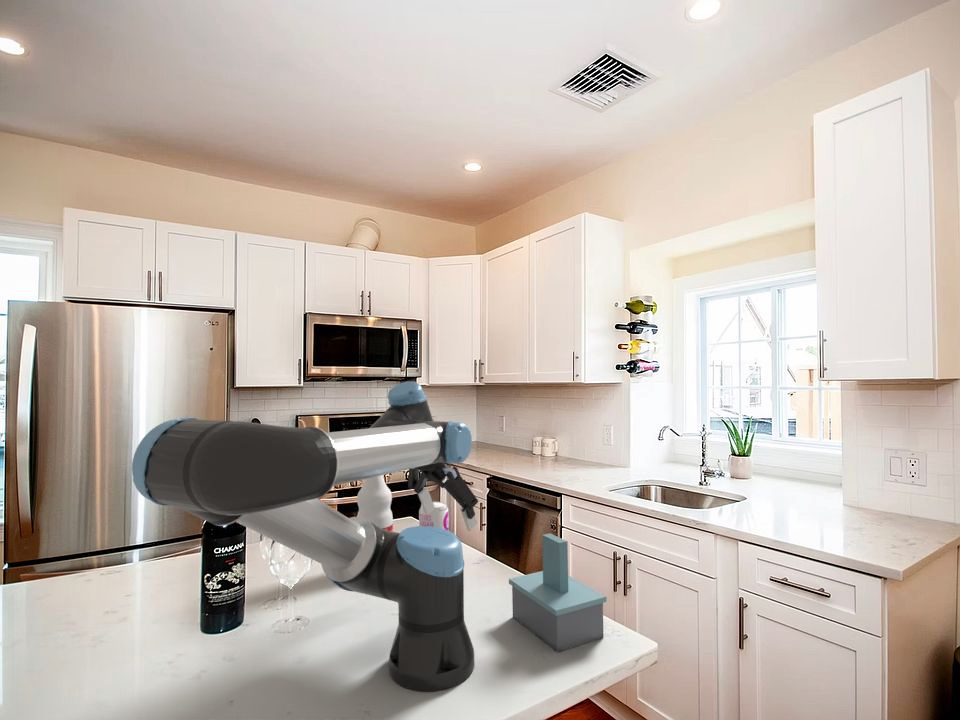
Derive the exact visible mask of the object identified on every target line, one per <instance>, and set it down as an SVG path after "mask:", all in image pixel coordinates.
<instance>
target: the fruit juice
mask: <svg viewBox="0 0 960 720" xmlns="http://www.w3.org/2000/svg"><path fill="white" fill-rule="evenodd" d="M392 501H393V495H392V491H391V489H390V488H389V486H388V485H387V484H386V482H385V479H384V475H381V476H376V477H372V478H368V479H364V481H363V485H362V487H361V488H360V489H359V491H358V493H357V497H356V502H357V506H358V513H357V515H356V517H363V518H365V519H367V520H369V521H370V522H372V523H373V524H375V525H376V526H378V527H379V528H381V529H384V530H386V531H391V532H394V530H393V529H394V527H393V526H394V520H393V519H394V517H393V511H392V509H391V505H392Z"/></svg>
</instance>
